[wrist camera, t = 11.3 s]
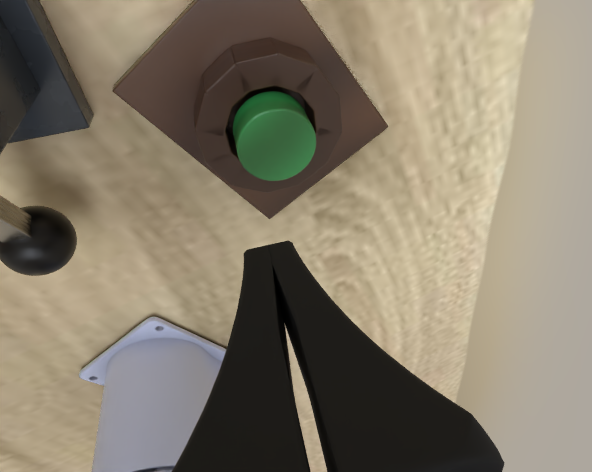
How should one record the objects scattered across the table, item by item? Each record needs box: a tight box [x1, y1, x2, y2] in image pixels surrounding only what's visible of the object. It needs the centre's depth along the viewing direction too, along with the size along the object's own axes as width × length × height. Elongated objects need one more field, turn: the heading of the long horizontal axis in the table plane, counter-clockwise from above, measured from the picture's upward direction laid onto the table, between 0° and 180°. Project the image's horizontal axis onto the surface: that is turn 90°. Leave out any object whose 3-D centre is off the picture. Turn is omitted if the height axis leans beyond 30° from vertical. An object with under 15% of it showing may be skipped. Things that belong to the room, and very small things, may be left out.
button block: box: [113, 0, 388, 219], centre depth 18 cm, size 10×8×3 cm
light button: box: [233, 91, 316, 181], centre depth 17 cm, size 3×3×2 cm
